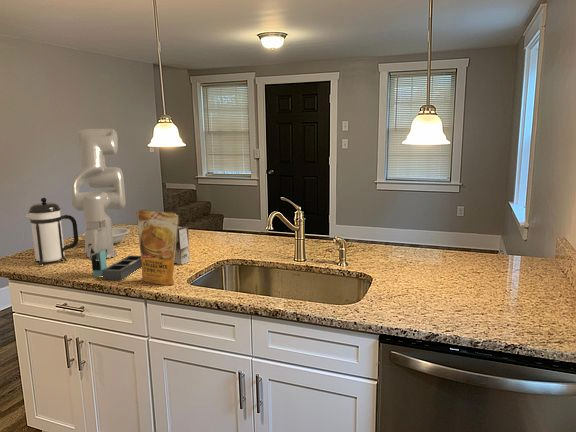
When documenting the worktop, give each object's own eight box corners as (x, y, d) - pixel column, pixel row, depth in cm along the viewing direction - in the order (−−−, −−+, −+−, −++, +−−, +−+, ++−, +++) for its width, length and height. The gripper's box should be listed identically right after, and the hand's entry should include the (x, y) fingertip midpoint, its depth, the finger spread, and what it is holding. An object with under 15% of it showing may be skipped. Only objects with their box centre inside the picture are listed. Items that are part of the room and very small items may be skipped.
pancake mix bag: (147, 275, 183) (142, 208, 178) (184, 282, 175) (180, 211, 170) (135, 280, 177) (129, 211, 172) (172, 287, 169) (168, 214, 164)
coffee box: (191, 261, 203) (189, 227, 200) (181, 265, 197) (179, 229, 194) (175, 259, 207) (173, 225, 204) (165, 262, 202) (163, 228, 199)
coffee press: (55, 267, 197) (48, 200, 192) (24, 266, 200) (16, 199, 195) (81, 257, 214) (74, 194, 208) (52, 255, 217) (45, 194, 211)
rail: (102, 279, 179) (101, 269, 178) (129, 264, 200) (128, 255, 200) (121, 280, 178) (120, 270, 177) (146, 264, 199) (145, 255, 199)
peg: (93, 276, 183) (90, 250, 181) (98, 273, 187) (96, 248, 185) (102, 277, 182) (99, 251, 180) (107, 274, 186) (105, 248, 184)
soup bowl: (72, 248, 231) (70, 235, 230) (103, 237, 254) (102, 226, 252) (111, 251, 224) (110, 238, 223) (140, 240, 247) (139, 228, 246)
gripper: (98, 220, 189) (102, 262, 193) (74, 229, 173) (79, 274, 176) (115, 221, 188) (118, 262, 192) (92, 229, 172) (96, 274, 175)
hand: (99, 267), depth 184 cm, fingers closed on peg, 4 cm apart
